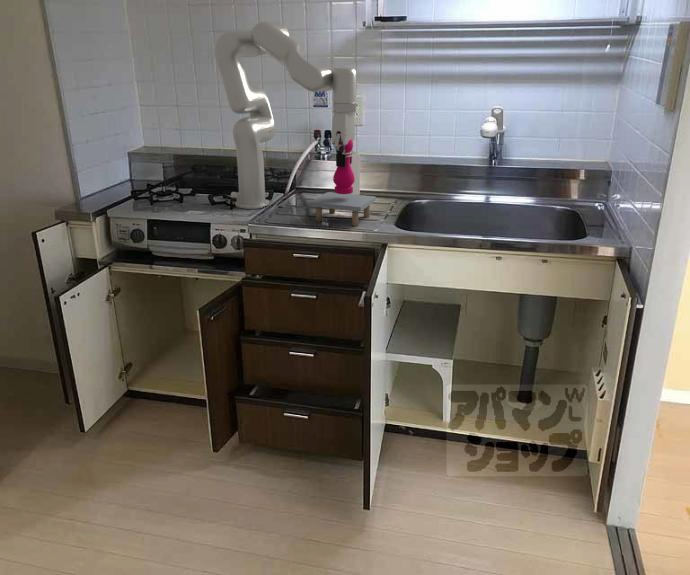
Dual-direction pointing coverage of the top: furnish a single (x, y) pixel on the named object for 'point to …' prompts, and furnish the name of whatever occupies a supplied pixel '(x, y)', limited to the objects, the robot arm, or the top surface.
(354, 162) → the milk
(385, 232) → the top surface
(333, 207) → the stool
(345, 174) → the pepper mill
